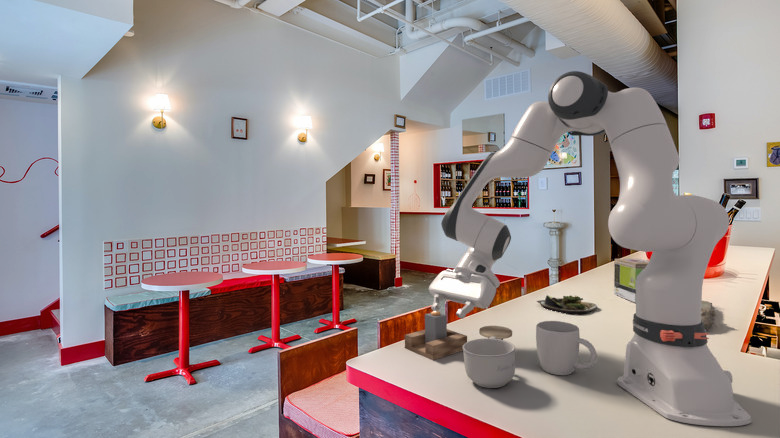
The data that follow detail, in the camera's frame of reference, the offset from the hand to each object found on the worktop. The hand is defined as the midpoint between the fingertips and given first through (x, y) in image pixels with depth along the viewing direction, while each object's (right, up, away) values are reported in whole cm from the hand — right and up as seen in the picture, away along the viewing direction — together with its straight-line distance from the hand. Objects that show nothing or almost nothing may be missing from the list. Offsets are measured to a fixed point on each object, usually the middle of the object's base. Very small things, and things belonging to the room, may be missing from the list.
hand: (446, 313), depth 111 cm
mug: (+24, -9, -18) cm, 32 cm away
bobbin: (+12, -9, -6) cm, 16 cm away
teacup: (+7, -10, -21) cm, 24 cm away
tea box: (+79, -6, +48) cm, 93 cm away
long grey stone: (+82, -7, +21) cm, 85 cm away
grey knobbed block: (-3, -8, -1) cm, 8 cm away
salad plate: (+48, -7, +37) cm, 61 cm away
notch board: (-3, -9, -1) cm, 9 cm away
